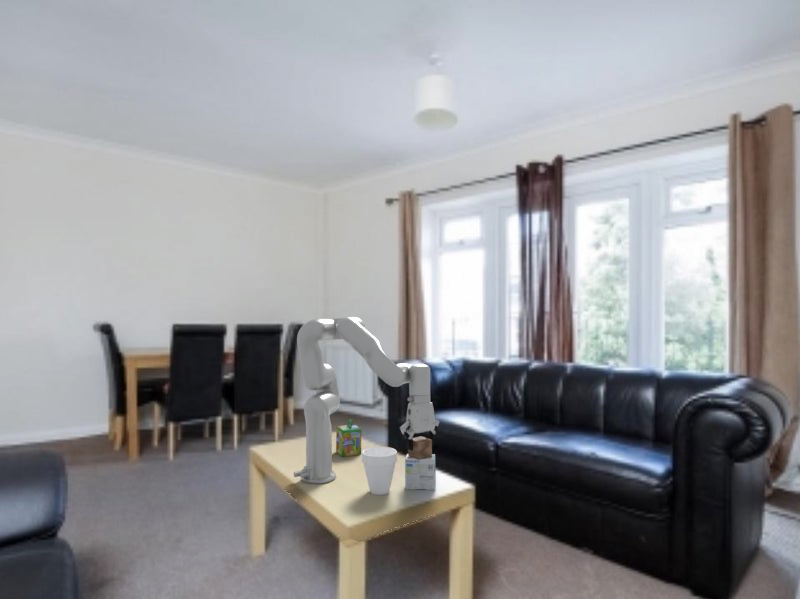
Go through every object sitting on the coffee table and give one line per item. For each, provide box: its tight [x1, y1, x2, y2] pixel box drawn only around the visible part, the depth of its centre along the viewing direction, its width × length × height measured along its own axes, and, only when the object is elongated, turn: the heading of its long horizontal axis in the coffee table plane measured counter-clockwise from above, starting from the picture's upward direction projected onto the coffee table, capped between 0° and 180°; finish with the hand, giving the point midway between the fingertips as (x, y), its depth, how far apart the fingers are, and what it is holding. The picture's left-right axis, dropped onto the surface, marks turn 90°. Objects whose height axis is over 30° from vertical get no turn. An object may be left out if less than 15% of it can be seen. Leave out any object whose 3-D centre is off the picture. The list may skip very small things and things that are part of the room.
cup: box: [361, 446, 398, 496], centre depth 162 cm, size 12×12×14 cm
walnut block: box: [407, 436, 433, 460], centre depth 166 cm, size 6×6×6 cm
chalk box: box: [335, 418, 362, 458], centre depth 207 cm, size 9×9×15 cm
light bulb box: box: [404, 453, 437, 491], centre depth 166 cm, size 11×7×11 cm, turn 84°
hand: (420, 447), depth 166 cm, fingers open, 9 cm apart
